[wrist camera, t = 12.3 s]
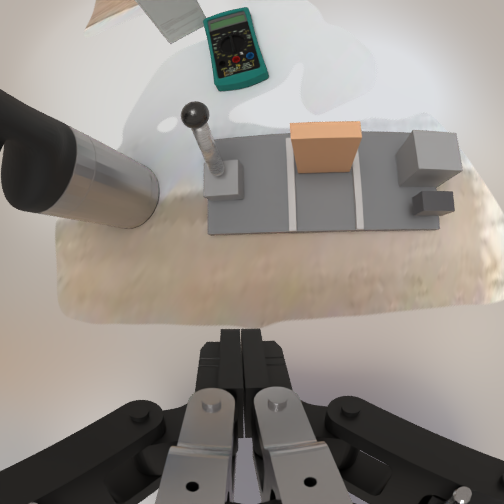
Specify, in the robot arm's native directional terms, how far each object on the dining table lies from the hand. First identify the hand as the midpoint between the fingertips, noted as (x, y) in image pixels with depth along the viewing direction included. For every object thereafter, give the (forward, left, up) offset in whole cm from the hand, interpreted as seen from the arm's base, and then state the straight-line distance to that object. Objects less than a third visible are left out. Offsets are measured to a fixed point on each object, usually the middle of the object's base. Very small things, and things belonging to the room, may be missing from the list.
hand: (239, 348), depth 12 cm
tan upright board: (+4, +14, -25) cm, 29 cm away
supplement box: (-16, +43, -27) cm, 53 cm away
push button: (+16, +9, -22) cm, 29 cm away
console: (+4, +13, -27) cm, 30 cm away
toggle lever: (-7, +13, -22) cm, 27 cm away
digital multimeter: (-7, +34, -27) cm, 44 cm away
